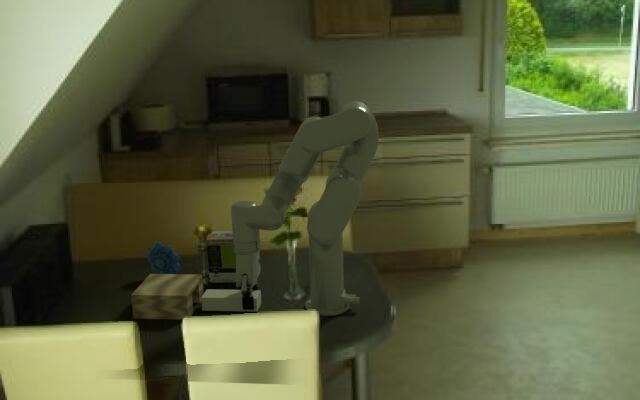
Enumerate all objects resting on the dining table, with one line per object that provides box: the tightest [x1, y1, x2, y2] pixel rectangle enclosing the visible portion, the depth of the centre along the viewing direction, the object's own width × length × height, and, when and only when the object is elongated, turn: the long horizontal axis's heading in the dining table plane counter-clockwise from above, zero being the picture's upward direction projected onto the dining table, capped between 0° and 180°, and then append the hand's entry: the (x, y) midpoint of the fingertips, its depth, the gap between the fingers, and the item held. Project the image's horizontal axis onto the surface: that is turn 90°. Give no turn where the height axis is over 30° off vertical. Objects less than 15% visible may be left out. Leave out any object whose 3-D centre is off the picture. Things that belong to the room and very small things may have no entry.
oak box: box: [130, 273, 205, 320], centre depth 205 cm, size 16×16×7 cm
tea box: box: [205, 229, 261, 283], centre depth 225 cm, size 15×10×15 cm, turn 84°
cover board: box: [201, 289, 262, 313], centre depth 203 cm, size 16×6×4 cm, turn 84°
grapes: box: [146, 242, 182, 274], centre depth 226 cm, size 12×7×12 cm, turn 76°
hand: (250, 303), depth 202 cm, fingers closed on cover board, 6 cm apart
